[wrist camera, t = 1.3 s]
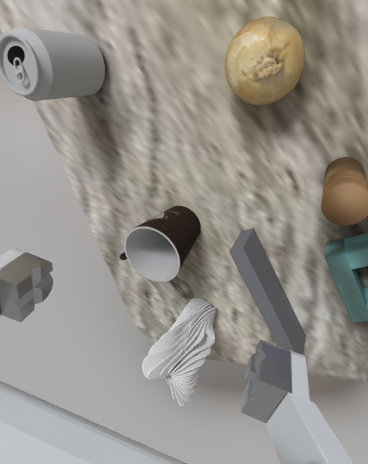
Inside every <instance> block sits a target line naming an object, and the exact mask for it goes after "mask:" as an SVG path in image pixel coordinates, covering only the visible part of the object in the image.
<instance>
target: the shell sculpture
mask: <svg viewBox="0 0 368 464" xmlns="http://www.w3.org/2000/svg"><path fill="white" fill-rule="evenodd" d="M209 305H210V304H208V302H207V303H206V301H204V300H202V299H199V298H192V299H191V300H190V301H189V303H188V304H187V305H186V307H185V308H184V310H183V311H182V313H181V315H180V316H179V317H178V319H177V320H176V322H175V323H174V324H173V326H172V327H171V328H170V330H169V331H168V332H167V333H165V334H164V335H163V336H162V337H161V338H160V339H159V341H158V342H156V343H155V344H153V346H152V347H151V349H150V351H149V354H148V356H147V357H146V358H145V359H144V361H143V363H142V371H143V374H144V376H145V377H146V378H148V379H151V380H154V379H157V378H160V377H161V379H163V377H164V381H165V380H166V383H168V385H169V386H171V390H172V396H173V399H175V395H176V398H177V400H178V403H179V405H180V406H181V407H183V406H184V402H183V400H184V401H189V400H190V399H191V394H192V393H193V392H194V390H195V387H196V386H195V385H196V383H197V381H198V376H199V374H200V370H201V366H202V365H203V364H204V362H205V358H206V356H207V355H209V354H210V351H211V345H213V344H214V342H215V335H214V334H215V333H214V329H213V322H214V317H215V314H216V310H215V308H216V307H212V306H213V305H212V306H209ZM207 306H208V307H207ZM206 307H207V308H206ZM204 310H205V311H204ZM203 311H204V312H203ZM202 312H203V313H202ZM190 330H191V331H190ZM196 338H197V340H196ZM195 340H196V341H195ZM197 345H198V347H197ZM193 347H195V349H194V351H193ZM192 351H193V352H192ZM189 352H190V353H189ZM196 353H197V354H196ZM188 354H189V355H188ZM195 354H196V356H195ZM192 355H193V356H192ZM191 356H192V358H191Z"/></svg>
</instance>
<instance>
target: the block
mask: <svg viewBox="0 0 368 464" xmlns="http://www.w3.org/2000/svg"><path fill="white" fill-rule="evenodd" d="M325 259H326V261H327V263H328V266H329V268H330V270H331V273H332V275H333V277H334V280H335V282H336V284H337V286H338V289H339V291H340V293H341V296H342V298H343V300H344V303H345V305H346V307H347V310H348V312H349V314H350V317H351V319H352V321H353V323H355V322H365V321H368V287H365V288H364V286H363V283H362V281H361V278H360V276H359V273H358V271H357V268H361V267H366V266H368V233H364V234H360V235H356V236H351V237H347V238H343V239H339V240H335V241H331V242H327V243H326V255H325Z"/></svg>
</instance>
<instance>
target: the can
mask: <svg viewBox="0 0 368 464" xmlns="http://www.w3.org/2000/svg"><path fill="white" fill-rule="evenodd" d="M0 74H1V76H2V78H3V79H4V81H5V83H6V84H7V85H8V86H9V88H10V89H11V90H12V91H14V92H15V93H16V94H18V95H21V96H24V97H26V98H27V99H30V100H33V101H39V100H49V99H58V98H68V97H77V96H87V95H93V94H95V93H96V92H98V91H99V89H100V88H101V87H102V85H103V81H104V78H105V65H104V59H103V56H102V54H101V52H100V49H99V48H98V46H97V45H96V44H95V42H94V41H93V40H91V39H90V38H88V37H87V36H84V35H80V34H72V33H65V32H57V31H50V30H42V29H35V28H27V27H17V28H13V29H12V30H11V31H10V32H9V33H5V34H3V35H2V36H1V37H0Z"/></svg>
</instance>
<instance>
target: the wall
mask: <svg viewBox="0 0 368 464" xmlns="http://www.w3.org/2000/svg"><path fill="white" fill-rule="evenodd" d="M230 254H231V256H232V258H233V260H234V262H235V264H236V265H237V267H238V269H239V271H240V273H241V275H242V277H243V279H244V281H245V283H246V285H247V287H248V289H249V291H250V293H251V295H252V296H253V298H254V300H255V302H256V304H257V306H258V308H259V310H260V312H261V314H262V316H263V318H264V320H265V322H266V324H267V326H268V327H269V329H270V331H271V333H272V335H273V337H274V339H275V341H276V343H277V345H278V346H280V347H282V348H285V349H288V350H291V351H293V352H296V353H299V354H302V355H303V352H304V343H305V333H304V331H303V329H302V327H301V325H300V323H299V321H298V319H297V317H296V315H295V313H294V311H293V309H292V306H291V304H290V302H289V300H288V298H287V296H286V294H285V292H284V290H283V288H282V286H281V284H280V282H279V280H278V278H277V275H276V273H275V271H274V269H273V267H272V265H271V263H270V261H269V259H268V257H267V255H266V253H265V251H264V249H263V247H262V244H261V242H260V240H259V238H258V236H257V234H256V232H255V230H254V228H252V229H249V230H246V231H242V232H241V233H240V235H239V236H238V238H237V240H236V242H235V243H234V245H233V247H232V248H231V250H230Z"/></svg>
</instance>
